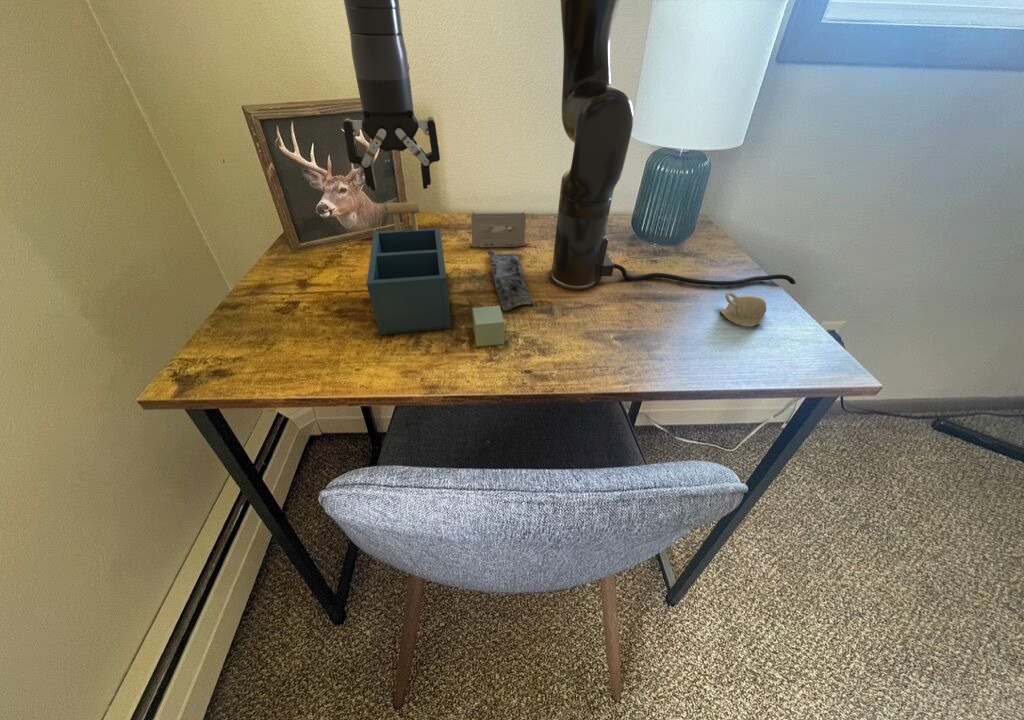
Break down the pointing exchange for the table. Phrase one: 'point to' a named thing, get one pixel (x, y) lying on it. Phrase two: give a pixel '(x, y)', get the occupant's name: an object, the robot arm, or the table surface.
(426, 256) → the shelf
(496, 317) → the block
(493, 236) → the cassette
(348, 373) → the table surface
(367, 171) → the robot arm
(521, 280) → the grey cloth
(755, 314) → the decorative ornament
